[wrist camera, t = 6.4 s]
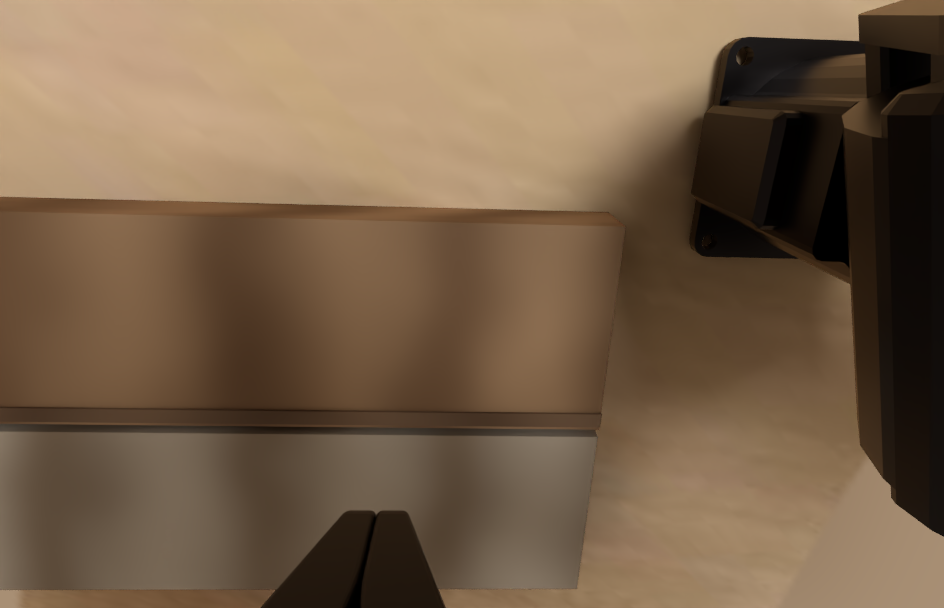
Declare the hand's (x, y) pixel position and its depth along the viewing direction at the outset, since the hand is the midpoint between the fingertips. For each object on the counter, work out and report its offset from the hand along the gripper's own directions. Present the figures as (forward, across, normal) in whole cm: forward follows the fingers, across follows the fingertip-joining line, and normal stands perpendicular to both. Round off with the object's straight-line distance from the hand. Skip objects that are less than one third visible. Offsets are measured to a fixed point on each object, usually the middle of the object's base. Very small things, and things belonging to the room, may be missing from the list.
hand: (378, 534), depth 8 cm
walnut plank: (+12, +5, +2) cm, 13 cm away
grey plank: (+12, +5, +9) cm, 16 cm away
